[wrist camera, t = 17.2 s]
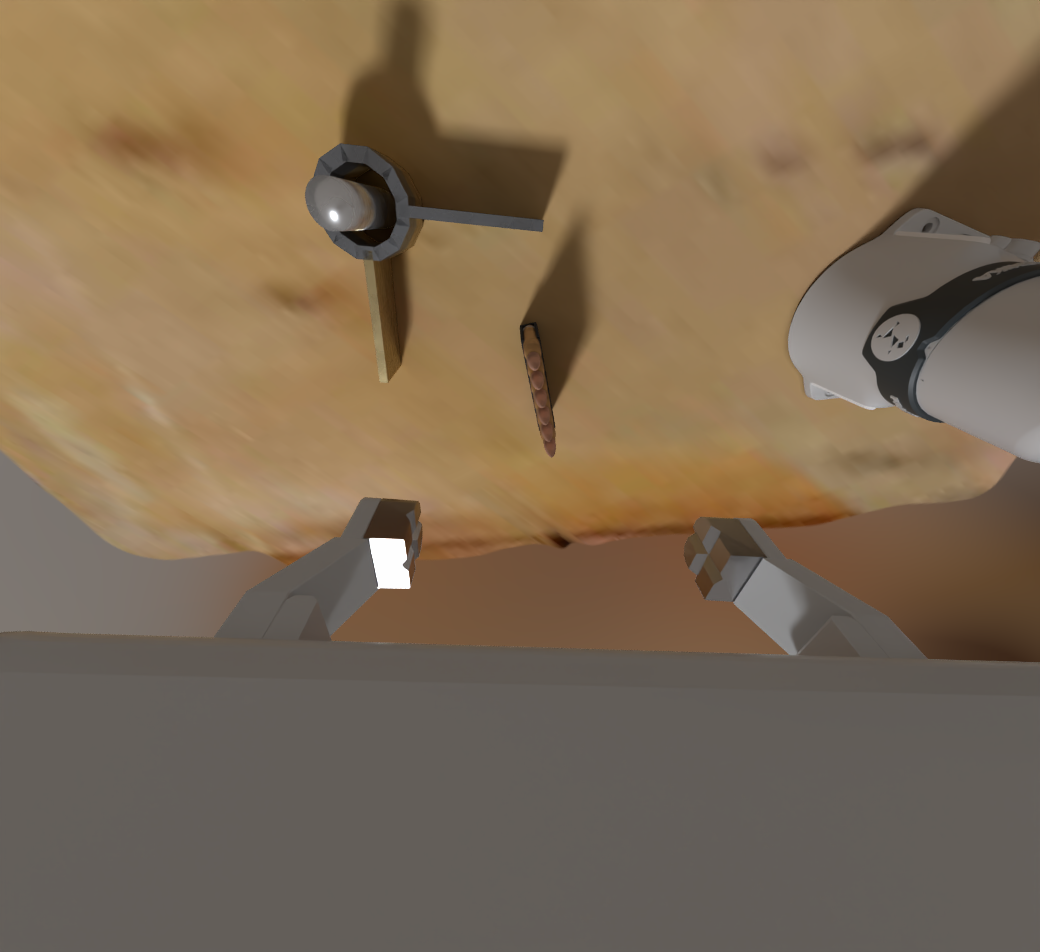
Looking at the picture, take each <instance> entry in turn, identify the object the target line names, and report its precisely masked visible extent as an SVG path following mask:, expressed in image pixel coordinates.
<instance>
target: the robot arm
mask: <svg viewBox="0 0 1040 952" xmlns="http://www.w3.org/2000/svg"><path fill="white" fill-rule="evenodd" d="M925 225H926V226H925ZM924 226H925V228H924V230H923V231H922V229H923V227H924ZM1039 250H1040V243H1039V242H1036V241H1032V240H1026V239H1016V238H1013V239H1011V238H1008V237H1004V236H996V235H993V236H991V237H990V236H988V235H986V234H984V233H981V232H979V231H977V230H975V229H973V228H970V227H968V226H966V225H964V224H961V223H959V222H957V221H955V220H953V219H950V218H948V217H946V216H944V215H941V214H939V213H937V212H935V211H933V210H930V209H924V208H915V209H913V210H911V211H909V212H907V213H906V214H905V215H903V216H902V217H901V218H900V219H898V220H897V221H896V222H895V223H894V224H893V225H892V226H890V227H889V228H888V229H887V230H886V231H885V232H884V233H883V234H882V235H880V236H879V237H877V238H875V239H873V240H872V241H870V242H868V243H866V244H864V245H862V246H860V247H858V248H856V249H854V250H852V251H851V252H849V253H848V254H846V255H845V256H843V257H842V258H840V259H839V260H838V261H836V262H835V263H834V264H833V265H832V266H830V267H829V268H828V269H827V270H826V271H825V272H824V273H823V274H822V275H821V276H820V277H819V278H818V279H817V280H816V282H815V283H814V284H813V285H812V286H811V288H810V289H809V290H808V292H807V293H806V295H805V296H804V298H803V299H802V301H801V303H800V304H799V306H798V308H797V310H796V312H795V315H794V317H793V320H792V323H791V326H790V331H789V337H788V349H789V354H790V358H791V360H792V362H793V364H794V366H795V367H796V368H797V369H798V371H799V372H800V373H801V374H802V376H803V378H804V389H805V393H806V395H807V396H808V397H810V398H812V399H815V400H823V399H832V398H843V399H845V400H847V401H849V402H852V403H854V404H856V405H858V406H861V407H863V408H866V409H870V410H874V409H875V408H886V407H892V406H897V407H898V408H900V409H901V410H902V411H904V412H906V413H909V414H911V415H913V416H916V417H921V418H924V419H926V420H929V421H933V422H939V423H947V424H949V425H951V426H953V427H956V428H958V429H960V430H962V431H964V432H966V433H968V434H970V435H973V436H975V437H977V438H979V439H981V440H983V441H985V442H988V443H990V444H992V445H994V446H996V447H998V448H1001V449H1003V450H1005V451H1007V452H1009V453H1011V454H1013V455H1016V456H1018V457H1020V458H1022V459H1025V460H1029V461H1032V462H1037V463H1040V262H1033V260H1034V259H1033V257H1034V255H1035V254H1036V253H1037V252H1038V251H1039ZM420 514H421V509H420V503H419V502H418V501H411V500H398V499H385V498H383V499H381V498H368V497H364V498H363V499H362V500H360V502H359V504H358V506H357V508H356V510H355V512H354V513H353V515H352V517H351V519H350V521H349V523H348V524H347V526H346V528H345V530H344V532H343V534H342V536H341V537H340V538H338V537H335V538H333V539H331V540H330V541H328V542H326V543H325V544H323V545H322V546H320V547H318V548H317V549H315V550H313V551H312V552H310V553H308V554H307V555H305V556H304V557H302V558H300V559H299V560H297V561H295V562H294V563H292V564H290V565H289V566H287V567H286V568H284V569H282V570H281V571H279V572H277V573H276V574H274V575H272V576H271V577H269V578H268V579H266V580H264V581H263V582H261V583H259V584H258V585H256V586H255V587H253V588H251V589H250V590H248V591H246V593H245V594H244V596H243V597H242V598H241V600H240V601H239V603H238V604H237V605H236V607H235V608H234V610H233V611H232V612H231V614H230V615H229V617H228V618H227V619H226V621H225V622H224V623H223V625H222V626H221V628H220V629H219V630H218V632H217V633H216V635H215V636H214V637H179V636H144V635H110V634H76V633H54V632H34V631H22V632H21V631H18V632H17V631H15V632H1V633H0V952H1040V663H1039V662H1038V663H1037V662H1004V661H1003V662H1002V661H967V660H966V661H965V660H936V659H927V658H926V657H925V656H924V655H923V654H922V652H921V651H920V650H919V649H918V648H917V647H916V646H915V645H914V644H913V643H912V642H911V641H910V640H909V639H908V638H907V637H906V636H905V634H904V633H903V632H902V631H901V630H900V629H899V628H898V627H897V626H896V625H895V624H894V623H893V622H892V621H891V620H890V619H889V617H888V616H886V615H884V614H883V613H881V612H879V611H877V610H876V609H874V608H872V607H871V606H869V605H867V604H866V603H864V602H862V601H861V600H859V599H857V598H856V597H854V596H852V595H850V594H849V593H847V592H846V591H844V590H842V589H841V588H839V587H837V586H836V585H834V584H832V583H830V582H829V581H827V580H826V579H824V578H822V577H820V576H819V575H817V574H816V573H814V572H812V571H810V570H809V569H807V568H805V567H804V566H802V565H800V564H799V563H797V562H795V561H794V560H792V559H786V558H785V556H784V555H783V554H782V553H781V552H780V550H779V549H778V548H777V547H776V546H775V544H774V543H773V542H772V541H771V539H770V538H769V537H768V536H767V534H766V533H765V532H764V531H763V529H762V528H761V527H760V526H759V525H758V523H757V522H756V521H754V520H752V519H750V518H716V517H700V518H698V519H697V520H696V522H695V524H694V526H693V528H694V530H695V533H694V534H693V535H691V536H690V537H688V539H687V541H686V543H685V546H684V557H685V562H686V564H687V566H688V568H689V569H690V570H691V571H692V572H694V573H695V574H696V575H697V577H696V580H695V582H696V584H697V586H698V588H699V590H700V591H701V593H702V595H703V597H704V599H705V600H715V601H730V602H734V604H735V605H736V606H737V607H738V608H739V609H740V610H741V611H742V612H744V613H745V614H746V615H747V616H748V617H749V618H750V619H751V620H752V621H753V622H754V623H756V624H757V625H758V626H759V627H760V628H761V629H762V630H763V631H764V632H766V634H768V635H769V636H770V637H771V638H772V639H773V640H774V641H775V642H776V643H777V644H778V645H780V646H781V647H782V648H783V649H784V650H785V651H786V652H787V653H788V654H789V655H774V654H771V655H770V654H740V653H705V652H673V651H640V650H608V649H576V648H543V647H510V646H509V647H508V646H476V645H475V646H473V645H444V644H411V643H408V644H407V643H378V642H345V641H331V638H330V636H331V635H332V634H333V633H334V632H335V631H336V630H337V629H338V628H339V627H340V626H341V625H342V624H343V623H344V622H345V621H346V620H347V619H348V618H349V617H350V616H351V615H352V614H353V613H354V612H355V611H356V610H358V609H359V607H361V606H362V605H363V604H364V603H365V601H367V600H368V599H369V598H370V597H371V596H372V595H373V594H374V593H375V592H376V591H377V590H378V588H410V586H411V583H412V579H413V576H414V572H415V559H416V558H418V557H419V554H420V550H421V544H422V524H421V523H420V522H419V521H418V520H419V517H420Z"/></svg>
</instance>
